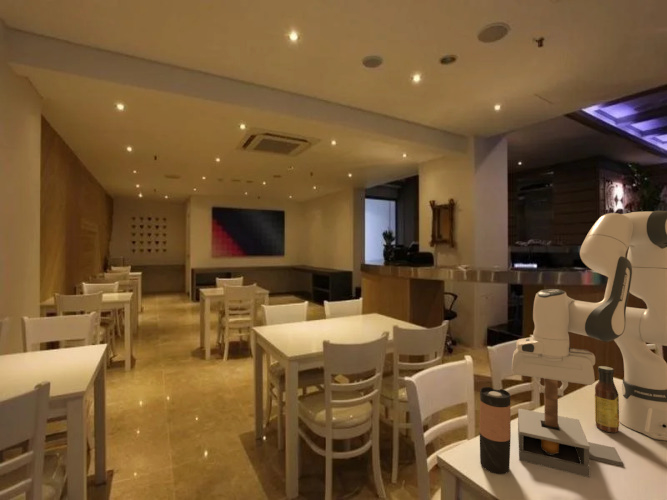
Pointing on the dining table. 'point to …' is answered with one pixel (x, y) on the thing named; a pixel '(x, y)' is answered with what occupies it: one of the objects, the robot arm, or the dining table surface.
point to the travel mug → (495, 430)
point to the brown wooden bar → (551, 402)
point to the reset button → (550, 446)
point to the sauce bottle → (606, 401)
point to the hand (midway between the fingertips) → (550, 393)
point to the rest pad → (604, 454)
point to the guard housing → (564, 434)
